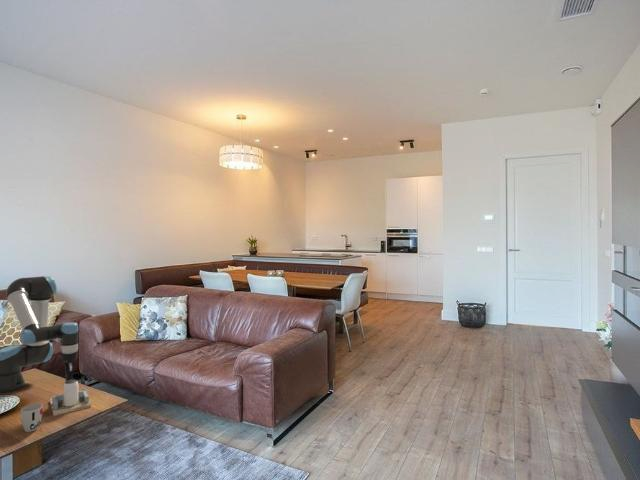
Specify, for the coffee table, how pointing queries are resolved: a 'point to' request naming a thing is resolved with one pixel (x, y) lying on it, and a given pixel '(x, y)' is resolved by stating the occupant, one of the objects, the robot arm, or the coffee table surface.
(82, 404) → the base plate
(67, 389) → the can
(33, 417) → the cup
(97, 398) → the coffee table surface
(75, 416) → the coffee table surface
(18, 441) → the coffee table surface
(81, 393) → the grey frame
